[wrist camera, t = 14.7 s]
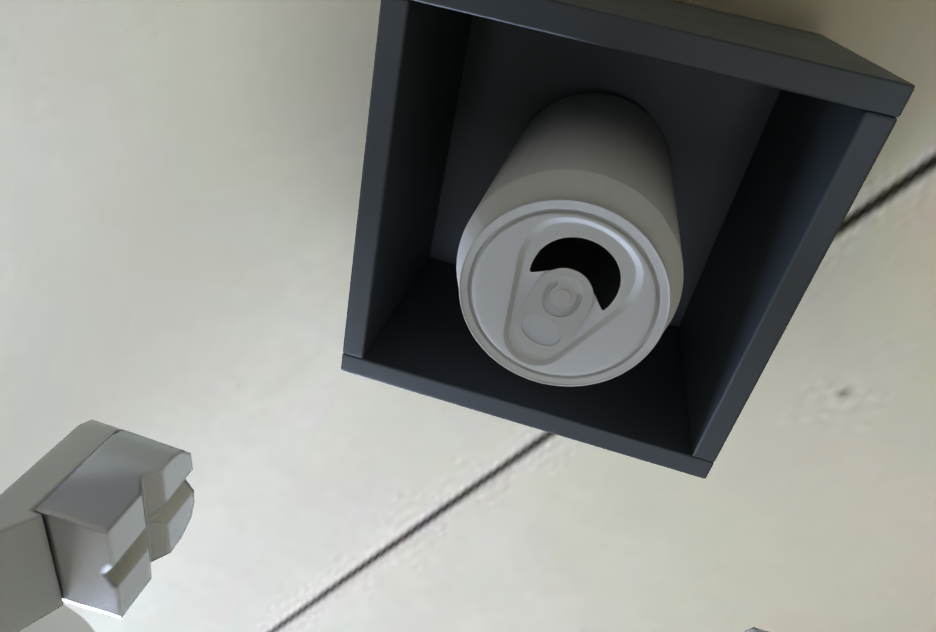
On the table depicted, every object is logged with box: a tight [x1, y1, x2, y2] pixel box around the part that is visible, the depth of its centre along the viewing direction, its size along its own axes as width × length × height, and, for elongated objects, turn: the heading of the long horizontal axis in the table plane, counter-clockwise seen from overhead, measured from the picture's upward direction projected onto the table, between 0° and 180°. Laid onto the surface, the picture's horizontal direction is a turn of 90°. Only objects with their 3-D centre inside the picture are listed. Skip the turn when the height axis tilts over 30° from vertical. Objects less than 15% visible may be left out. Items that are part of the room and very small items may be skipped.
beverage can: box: [456, 93, 684, 386], centre depth 23 cm, size 6×6×12 cm
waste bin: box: [341, 0, 915, 478], centre depth 24 cm, size 14×14×10 cm
